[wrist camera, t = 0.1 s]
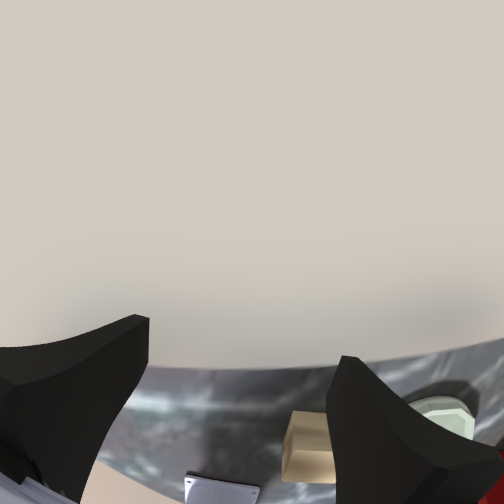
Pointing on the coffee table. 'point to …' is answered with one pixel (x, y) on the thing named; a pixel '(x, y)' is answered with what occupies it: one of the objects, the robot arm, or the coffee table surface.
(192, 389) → the coffee table surface
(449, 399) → the celadon dish
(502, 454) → the plastic cup
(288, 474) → the birch block
